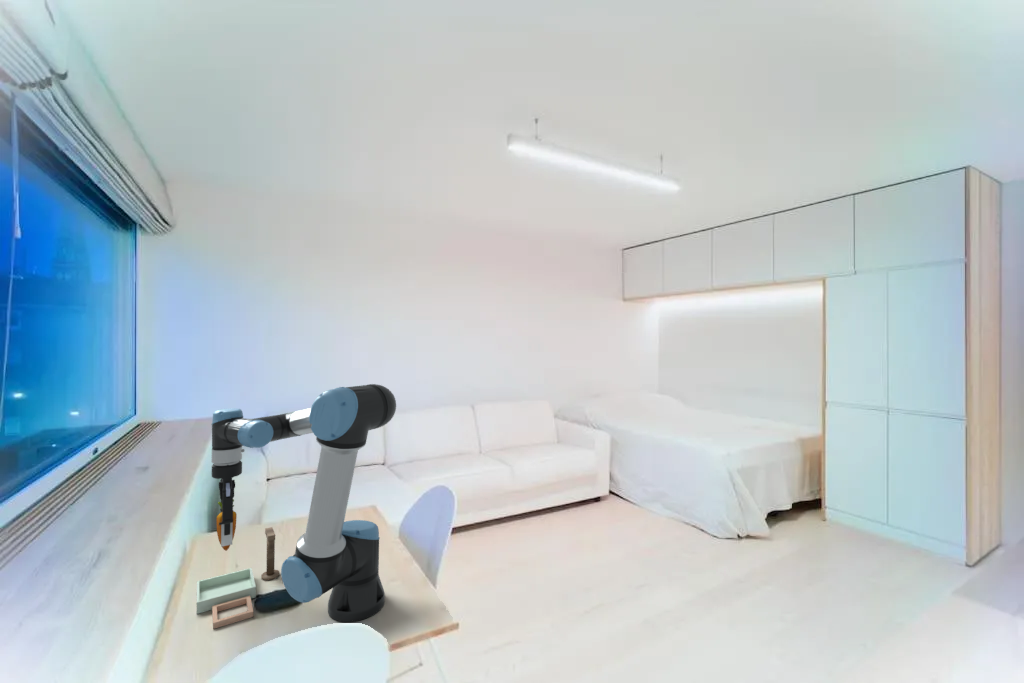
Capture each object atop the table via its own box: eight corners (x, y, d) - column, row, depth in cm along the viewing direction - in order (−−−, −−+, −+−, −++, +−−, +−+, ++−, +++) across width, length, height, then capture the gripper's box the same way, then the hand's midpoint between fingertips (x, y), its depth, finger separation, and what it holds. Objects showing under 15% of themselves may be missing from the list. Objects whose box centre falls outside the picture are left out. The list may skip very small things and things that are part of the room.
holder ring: (253, 616, 120) (253, 611, 120) (213, 628, 115) (213, 623, 115) (250, 600, 127) (250, 595, 127) (212, 611, 122) (212, 605, 122)
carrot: (211, 553, 128) (212, 501, 128) (225, 545, 133) (226, 496, 133) (226, 555, 127) (227, 503, 127) (240, 547, 132) (240, 497, 132)
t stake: (280, 577, 140) (280, 534, 140) (262, 582, 137) (262, 538, 137) (277, 567, 146) (277, 526, 146) (259, 571, 143) (260, 529, 143)
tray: (255, 597, 129) (255, 586, 129) (196, 614, 121) (196, 602, 121) (251, 577, 140) (251, 567, 140) (196, 591, 132) (196, 581, 132)
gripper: (244, 467, 125) (243, 550, 125) (239, 453, 140) (238, 527, 140) (212, 471, 121) (211, 557, 121) (211, 457, 135) (210, 533, 135)
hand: (226, 541), depth 130 cm, fingers closed on carrot, 5 cm apart
